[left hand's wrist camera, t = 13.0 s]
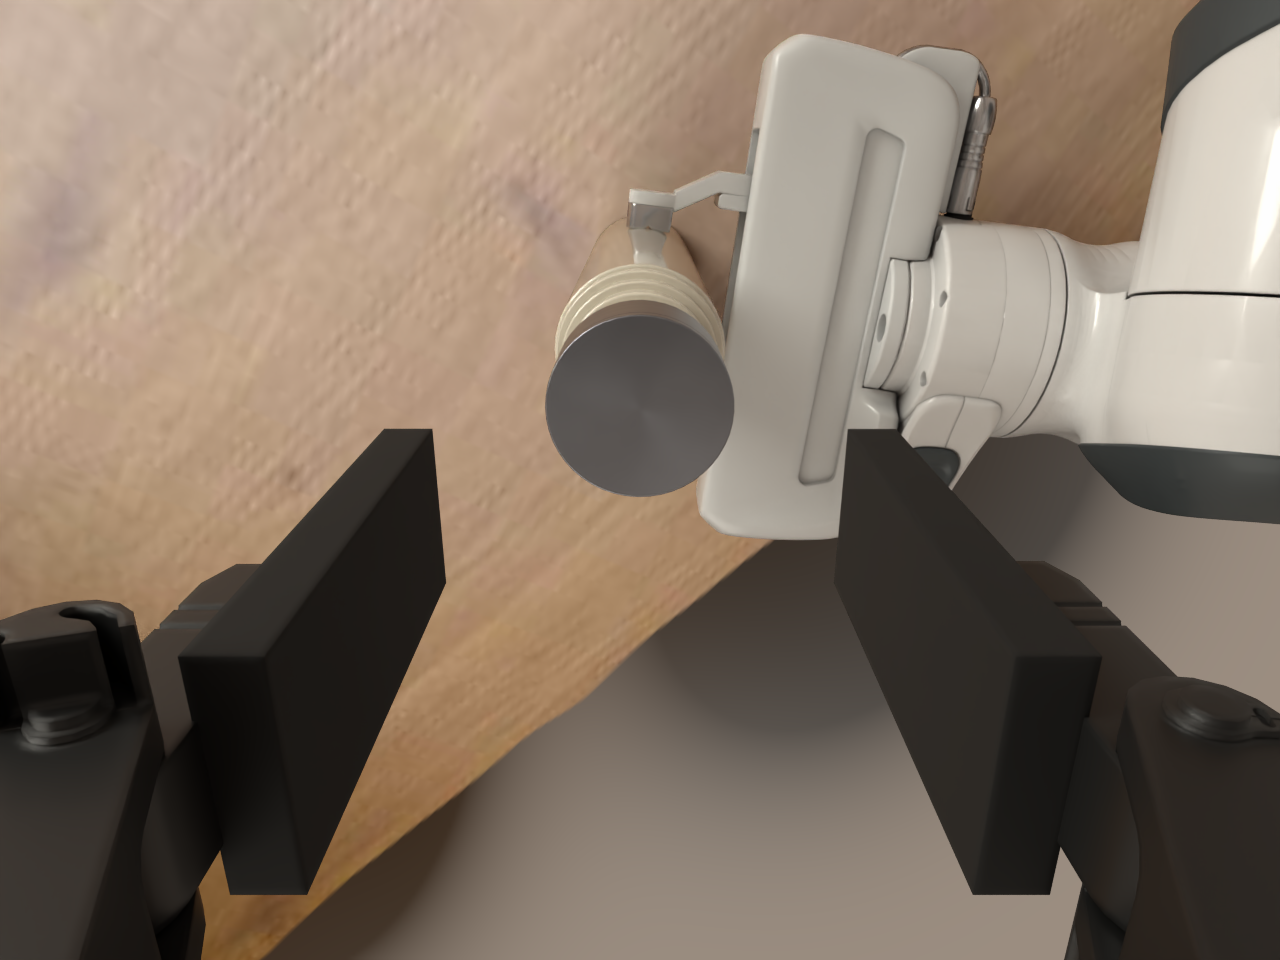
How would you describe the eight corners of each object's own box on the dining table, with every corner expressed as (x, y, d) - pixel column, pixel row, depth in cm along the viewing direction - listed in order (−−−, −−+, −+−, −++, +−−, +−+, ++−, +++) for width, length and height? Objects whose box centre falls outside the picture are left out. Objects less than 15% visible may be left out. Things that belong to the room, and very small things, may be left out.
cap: (749, 327, 21) (760, 346, 19) (696, 485, 22) (700, 517, 20) (578, 277, 20) (572, 290, 18) (535, 441, 22) (525, 469, 20)
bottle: (703, 232, 42) (778, 332, 19) (673, 329, 43) (708, 527, 21) (605, 202, 41) (562, 268, 19) (578, 301, 43) (510, 473, 20)
